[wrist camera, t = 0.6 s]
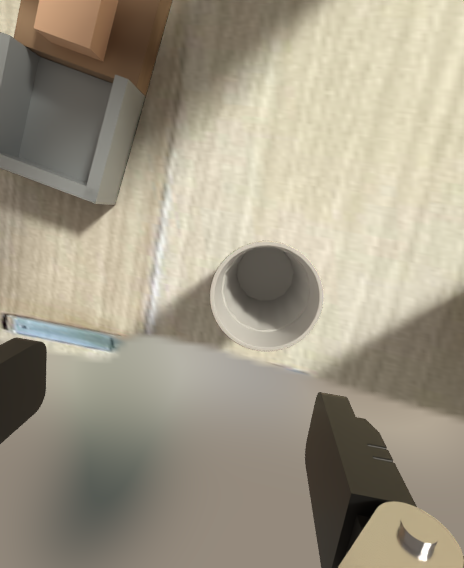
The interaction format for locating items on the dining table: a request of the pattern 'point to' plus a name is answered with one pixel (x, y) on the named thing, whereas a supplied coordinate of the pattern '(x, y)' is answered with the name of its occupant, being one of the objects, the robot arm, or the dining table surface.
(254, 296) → the cup
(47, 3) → the tile
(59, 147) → the tray
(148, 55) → the board
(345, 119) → the dining table surface
